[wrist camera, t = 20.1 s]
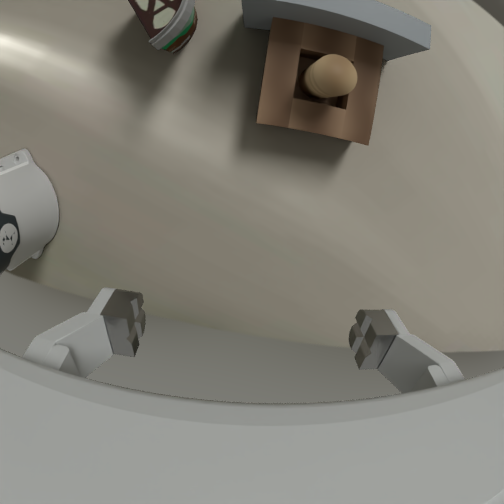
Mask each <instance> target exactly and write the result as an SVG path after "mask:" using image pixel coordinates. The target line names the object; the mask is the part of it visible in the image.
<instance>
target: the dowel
mask: <svg viewBox="0 0 504 504" xmlns="http://www.w3.org/2000/svg"><path fill="white" fill-rule="evenodd" d="M356 83H357V72H356V69H355V67H354V66H353V64H352V63H351V62H350V61H349V60H348V59H346V58H345V57H343V56H340V55H336V54H330V55H326V56H323V57H322V58H320V59H319V60H317V61H316V62H315V63H313V64H312V65H310V66H309V67H308V68H306V69H305V70H304V71H303V72H302V73H301V74H300V76H299V87H300V89H301V91H302V92H303V93H304V94H305V95H306V96H308V97H310V98H313V99H322V98H328V97H335V96H342V95H346V94H348V93H350V92H351V91H352V90H353V89H354V88H355V86H356Z"/></svg>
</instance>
